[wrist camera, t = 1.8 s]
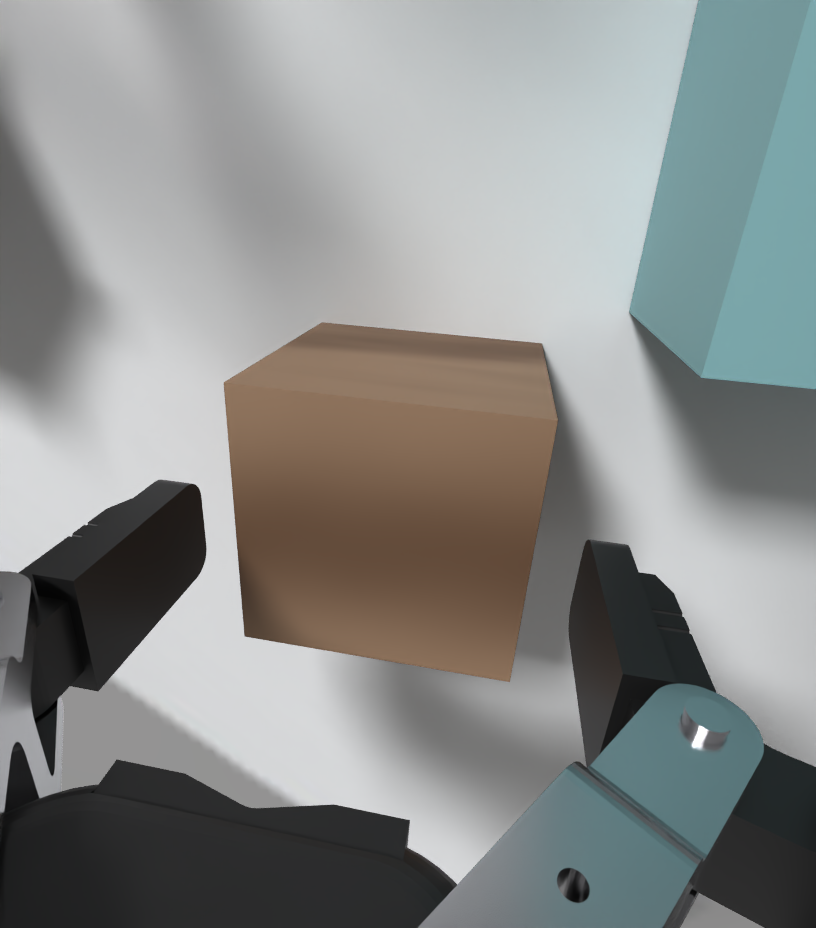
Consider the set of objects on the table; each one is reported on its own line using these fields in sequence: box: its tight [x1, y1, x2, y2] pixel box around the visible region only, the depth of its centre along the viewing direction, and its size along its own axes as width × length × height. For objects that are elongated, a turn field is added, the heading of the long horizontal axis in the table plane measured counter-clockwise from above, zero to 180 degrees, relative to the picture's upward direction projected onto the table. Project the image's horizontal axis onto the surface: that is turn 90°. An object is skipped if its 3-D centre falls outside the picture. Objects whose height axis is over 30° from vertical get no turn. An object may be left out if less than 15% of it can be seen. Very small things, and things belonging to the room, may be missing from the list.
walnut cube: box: [224, 323, 558, 682], centre depth 14 cm, size 6×6×6 cm
